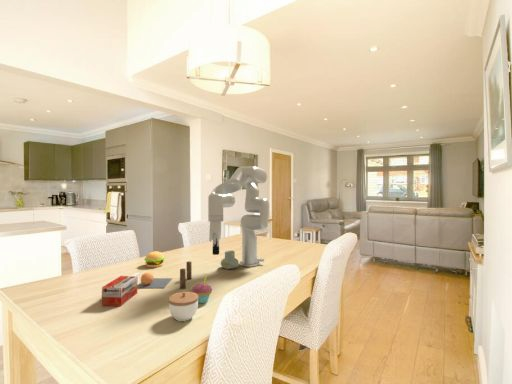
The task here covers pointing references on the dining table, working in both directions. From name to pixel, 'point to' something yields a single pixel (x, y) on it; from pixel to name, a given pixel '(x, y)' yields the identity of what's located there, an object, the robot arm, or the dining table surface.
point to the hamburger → (154, 259)
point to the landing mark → (156, 283)
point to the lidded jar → (183, 305)
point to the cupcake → (202, 291)
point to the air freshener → (229, 260)
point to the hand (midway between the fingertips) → (215, 254)
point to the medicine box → (119, 291)
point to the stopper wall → (137, 275)
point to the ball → (147, 278)
